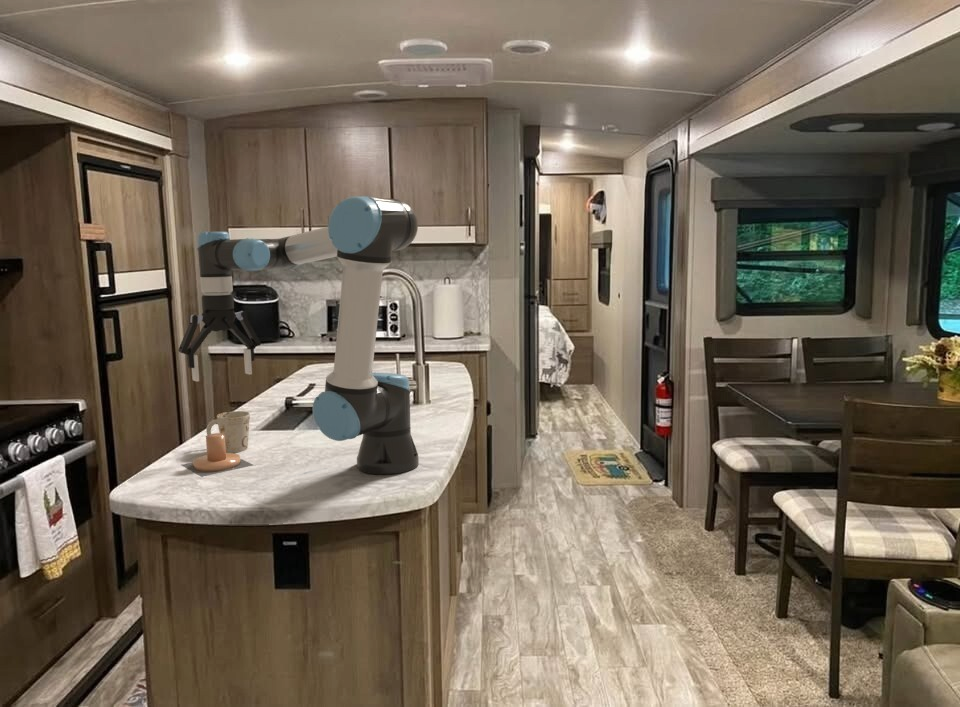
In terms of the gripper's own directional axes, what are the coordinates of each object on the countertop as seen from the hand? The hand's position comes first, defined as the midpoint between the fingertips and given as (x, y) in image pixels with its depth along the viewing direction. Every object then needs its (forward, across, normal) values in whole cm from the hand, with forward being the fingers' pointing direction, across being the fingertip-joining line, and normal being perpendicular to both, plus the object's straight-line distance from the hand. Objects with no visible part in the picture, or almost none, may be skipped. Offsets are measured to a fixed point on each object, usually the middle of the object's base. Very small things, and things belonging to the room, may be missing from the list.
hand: (222, 377), depth 190 cm
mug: (+21, -2, -6) cm, 22 cm away
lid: (+21, +5, +6) cm, 22 cm away
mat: (+21, +5, +6) cm, 23 cm away
